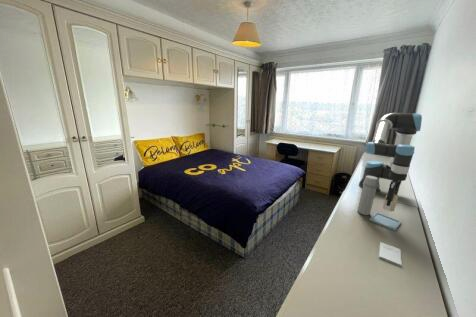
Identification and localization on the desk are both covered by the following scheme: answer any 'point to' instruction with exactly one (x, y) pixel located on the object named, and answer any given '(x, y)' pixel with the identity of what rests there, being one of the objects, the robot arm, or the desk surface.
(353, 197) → the desk surface
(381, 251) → the external hard drive
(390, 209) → the candle
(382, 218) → the tray
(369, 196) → the water bottle
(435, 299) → the desk surface
